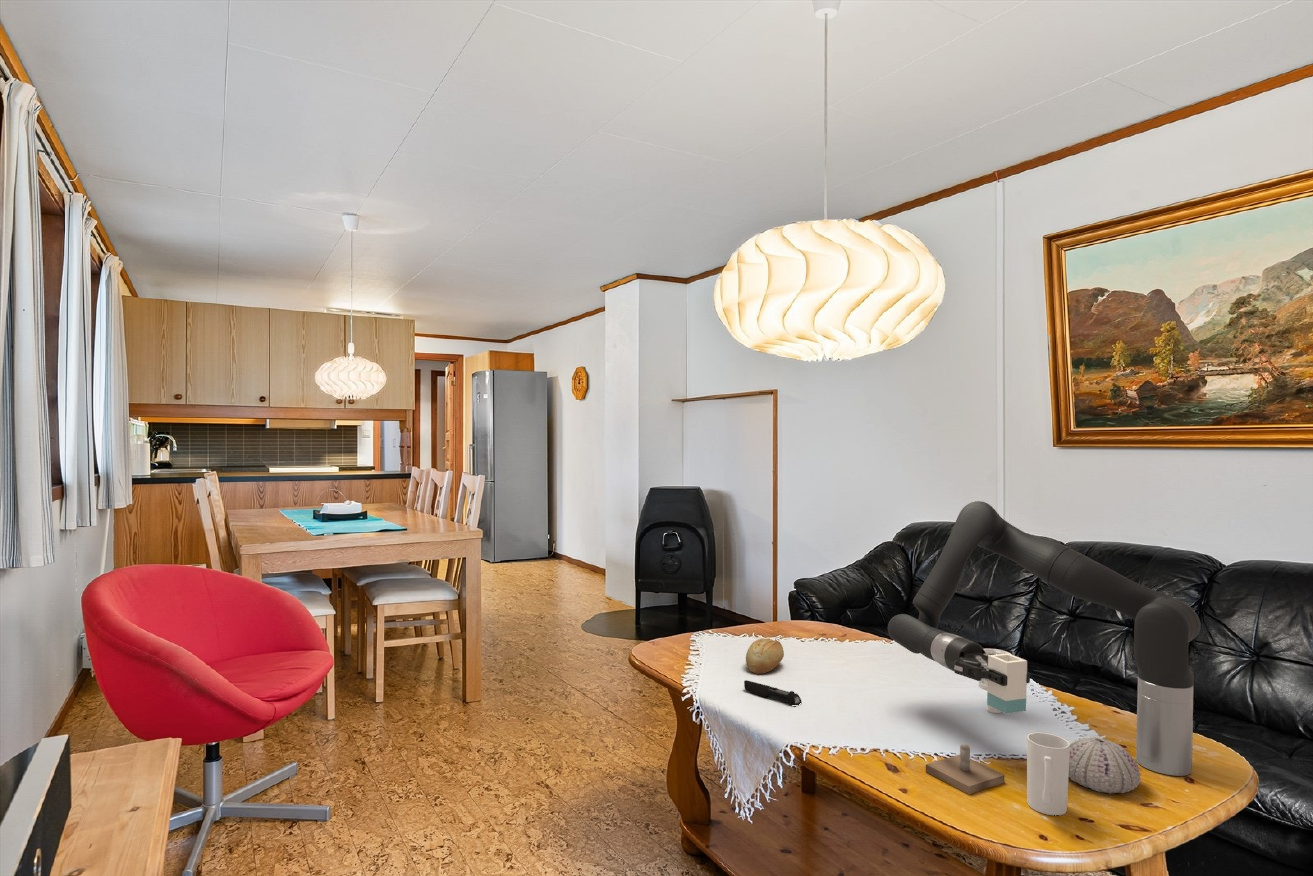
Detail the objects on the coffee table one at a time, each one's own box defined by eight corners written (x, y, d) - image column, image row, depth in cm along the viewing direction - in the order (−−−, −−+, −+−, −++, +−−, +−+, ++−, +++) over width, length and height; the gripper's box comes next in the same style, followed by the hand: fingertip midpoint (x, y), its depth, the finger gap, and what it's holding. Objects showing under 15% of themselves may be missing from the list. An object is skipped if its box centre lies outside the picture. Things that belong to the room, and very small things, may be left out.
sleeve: (1006, 701, 153) (1008, 653, 153) (1026, 710, 148) (1027, 660, 148) (987, 704, 151) (988, 655, 151) (1005, 713, 147) (1006, 663, 146)
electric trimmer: (749, 689, 192) (749, 677, 192) (802, 704, 182) (802, 691, 182) (741, 693, 189) (741, 681, 189) (794, 708, 179) (794, 695, 179)
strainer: (982, 715, 175) (983, 651, 175) (974, 704, 182) (975, 643, 182) (1014, 717, 174) (1015, 653, 174) (1005, 706, 181) (1006, 644, 181)
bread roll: (789, 663, 213) (790, 635, 213) (774, 678, 199) (774, 649, 199) (757, 658, 217) (757, 630, 217) (739, 673, 203) (740, 644, 203)
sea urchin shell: (1156, 789, 140) (1157, 747, 140) (1113, 805, 134) (1114, 761, 134) (1087, 761, 152) (1088, 722, 152) (1044, 775, 146) (1045, 734, 146)
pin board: (960, 761, 151) (961, 729, 151) (1004, 782, 142) (1005, 748, 142) (925, 772, 146) (926, 739, 146) (968, 794, 137) (969, 759, 137)
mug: (1026, 794, 138) (1027, 729, 138) (1068, 803, 135) (1069, 737, 134) (1024, 819, 129) (1025, 750, 129) (1068, 829, 126) (1070, 759, 125)
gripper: (930, 639, 161) (988, 664, 145) (984, 634, 165) (1046, 657, 149) (929, 674, 161) (987, 702, 145) (983, 668, 166) (1045, 695, 149)
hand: (1017, 679), depth 147 cm, fingers closed on sleeve, 5 cm apart
